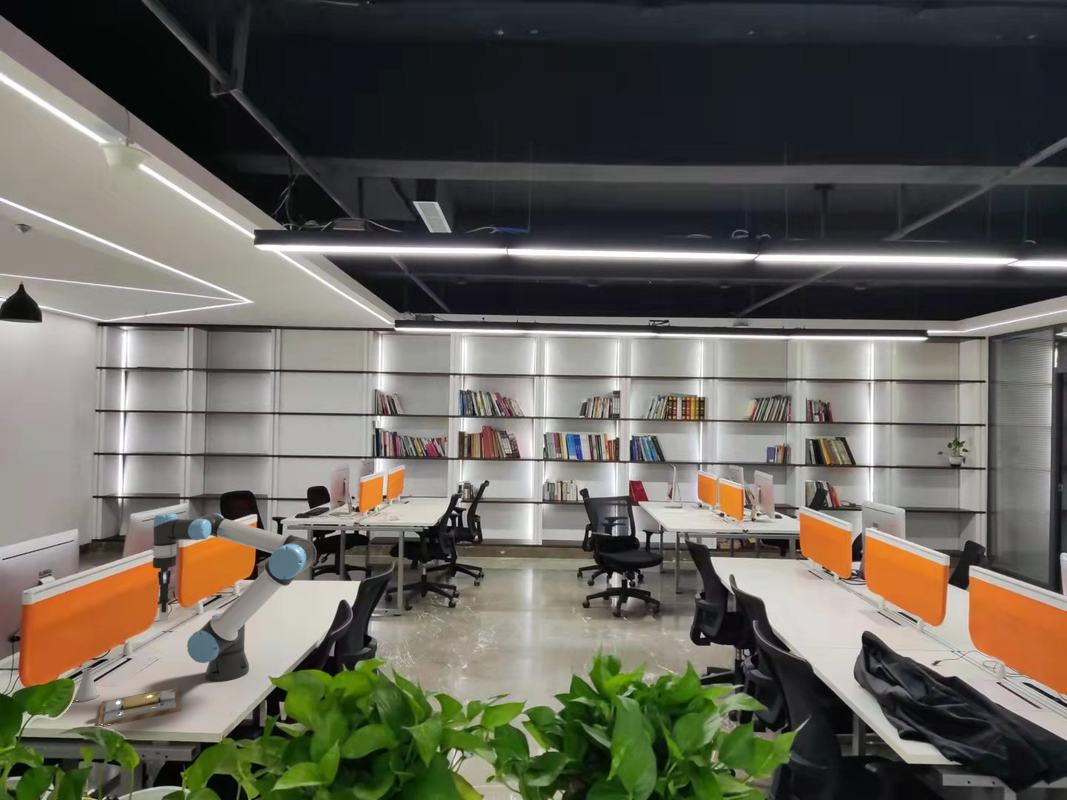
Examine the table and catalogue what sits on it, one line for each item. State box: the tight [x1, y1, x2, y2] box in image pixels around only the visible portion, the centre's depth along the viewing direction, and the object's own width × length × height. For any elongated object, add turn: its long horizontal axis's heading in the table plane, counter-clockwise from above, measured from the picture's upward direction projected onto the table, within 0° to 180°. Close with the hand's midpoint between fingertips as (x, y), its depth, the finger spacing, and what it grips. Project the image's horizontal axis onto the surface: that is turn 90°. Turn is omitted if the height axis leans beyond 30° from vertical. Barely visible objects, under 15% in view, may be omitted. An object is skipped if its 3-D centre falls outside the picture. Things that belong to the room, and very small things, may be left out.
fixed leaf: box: [103, 688, 177, 722], centre depth 212 cm, size 21×8×4 cm, turn 121°
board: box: [97, 686, 182, 728], centre depth 217 cm, size 23×20×1 cm
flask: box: [73, 667, 100, 703], centre depth 225 cm, size 7×7×10 cm
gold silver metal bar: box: [122, 691, 160, 710], centre depth 216 cm, size 20×8×4 cm, turn 121°
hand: (163, 620), depth 235 cm, fingers closed
